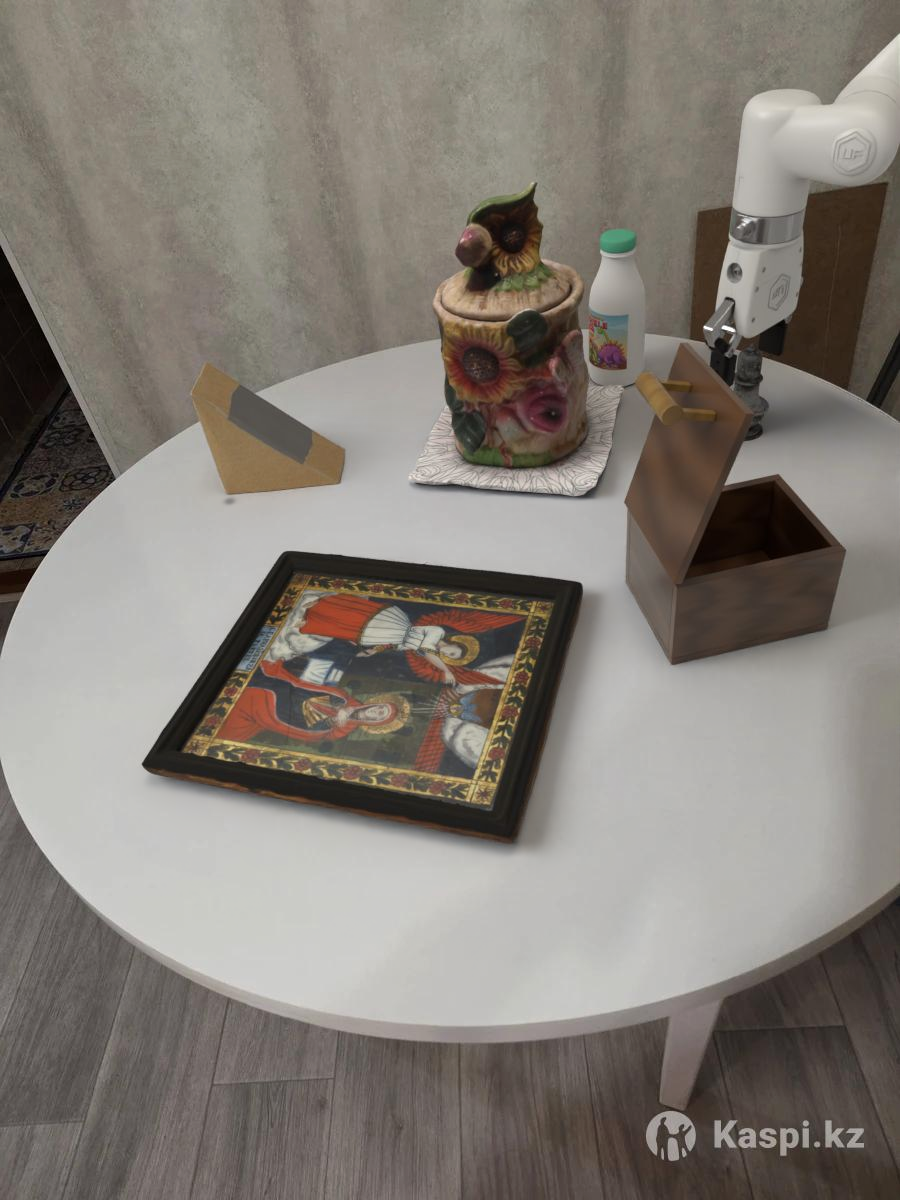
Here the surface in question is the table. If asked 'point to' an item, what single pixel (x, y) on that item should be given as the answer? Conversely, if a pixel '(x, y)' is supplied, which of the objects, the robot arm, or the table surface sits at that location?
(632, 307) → the milk bottle
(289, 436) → the sandwich container
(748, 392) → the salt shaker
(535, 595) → the framed painting
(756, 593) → the bin
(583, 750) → the table surface
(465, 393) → the cookie jar
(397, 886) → the table surface
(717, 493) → the bin lid
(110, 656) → the table surface
